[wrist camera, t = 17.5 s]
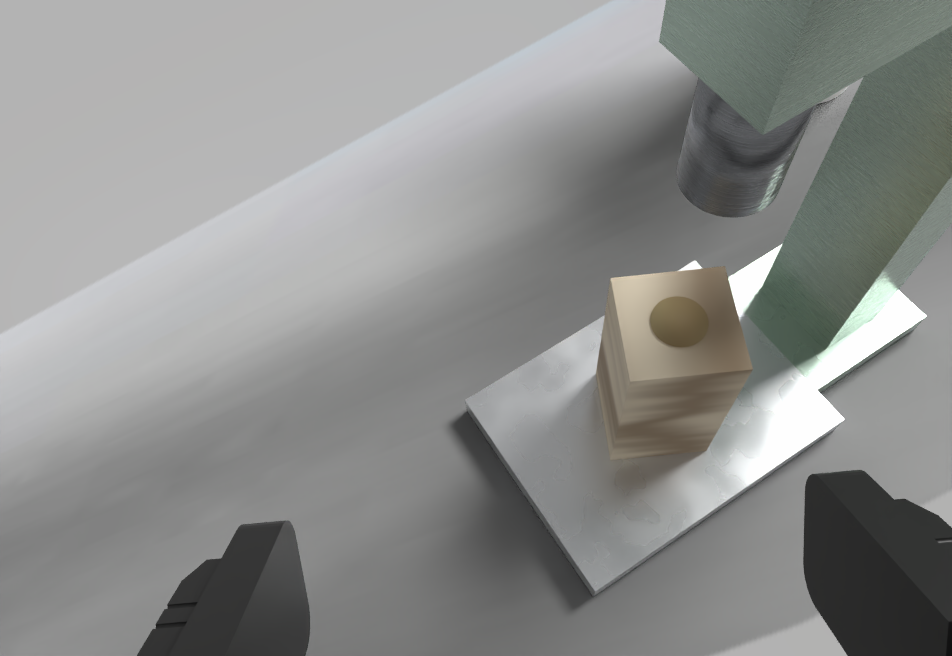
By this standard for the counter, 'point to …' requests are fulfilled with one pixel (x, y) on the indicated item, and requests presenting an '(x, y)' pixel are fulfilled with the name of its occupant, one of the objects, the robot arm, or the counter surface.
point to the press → (757, 263)
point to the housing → (669, 361)
